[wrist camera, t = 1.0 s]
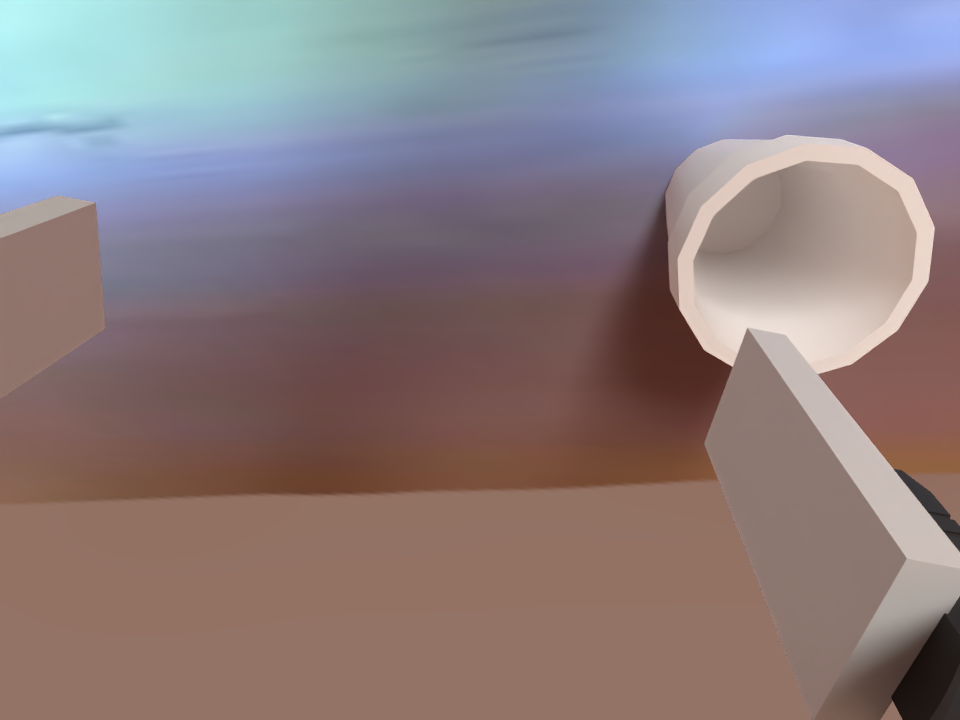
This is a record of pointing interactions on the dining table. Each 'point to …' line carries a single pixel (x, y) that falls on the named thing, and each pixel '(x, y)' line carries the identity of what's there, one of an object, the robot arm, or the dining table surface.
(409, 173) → the dining table surface
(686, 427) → the dining table surface
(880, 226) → the foam cup
